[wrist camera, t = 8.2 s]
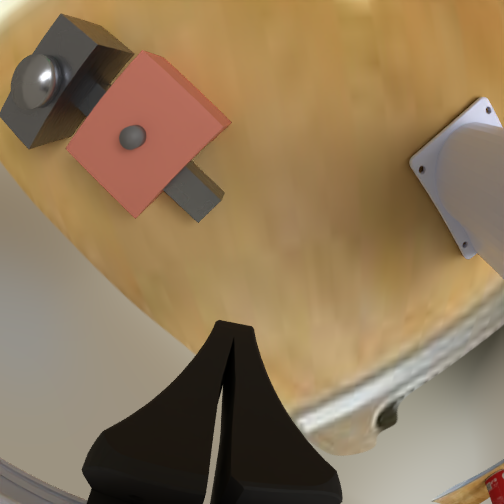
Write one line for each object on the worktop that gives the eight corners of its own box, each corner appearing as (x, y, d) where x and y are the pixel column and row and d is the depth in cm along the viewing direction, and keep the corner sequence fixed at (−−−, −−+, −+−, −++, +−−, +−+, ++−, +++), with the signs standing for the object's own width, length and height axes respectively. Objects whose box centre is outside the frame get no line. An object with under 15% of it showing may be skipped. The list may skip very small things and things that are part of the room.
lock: (231, 122, 18) (221, 128, 14) (155, 199, 21) (130, 224, 17) (163, 57, 16) (136, 48, 12) (94, 139, 19) (57, 151, 15)
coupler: (253, 165, 19) (247, 191, 14) (178, 238, 22) (151, 283, 16) (101, 26, 15) (50, 10, 10) (43, 107, 18) (-13, 117, 12)
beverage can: (484, 482, 47) (498, 528, 33) (484, 477, 44) (499, 526, 31) (505, 470, 45) (520, 515, 31) (505, 465, 43) (522, 513, 29)
